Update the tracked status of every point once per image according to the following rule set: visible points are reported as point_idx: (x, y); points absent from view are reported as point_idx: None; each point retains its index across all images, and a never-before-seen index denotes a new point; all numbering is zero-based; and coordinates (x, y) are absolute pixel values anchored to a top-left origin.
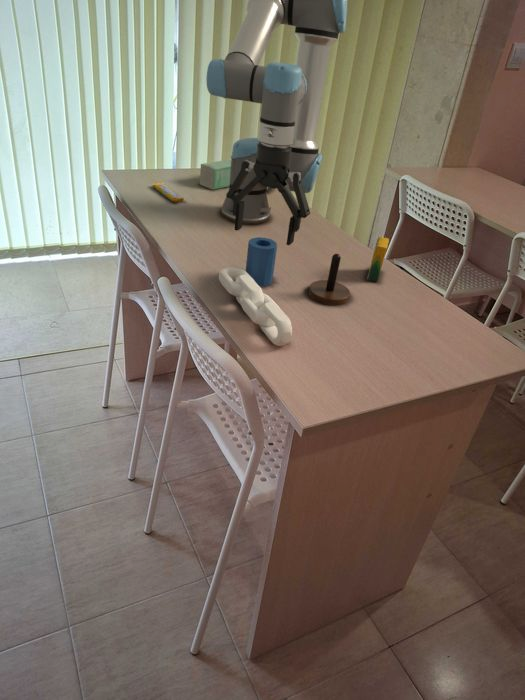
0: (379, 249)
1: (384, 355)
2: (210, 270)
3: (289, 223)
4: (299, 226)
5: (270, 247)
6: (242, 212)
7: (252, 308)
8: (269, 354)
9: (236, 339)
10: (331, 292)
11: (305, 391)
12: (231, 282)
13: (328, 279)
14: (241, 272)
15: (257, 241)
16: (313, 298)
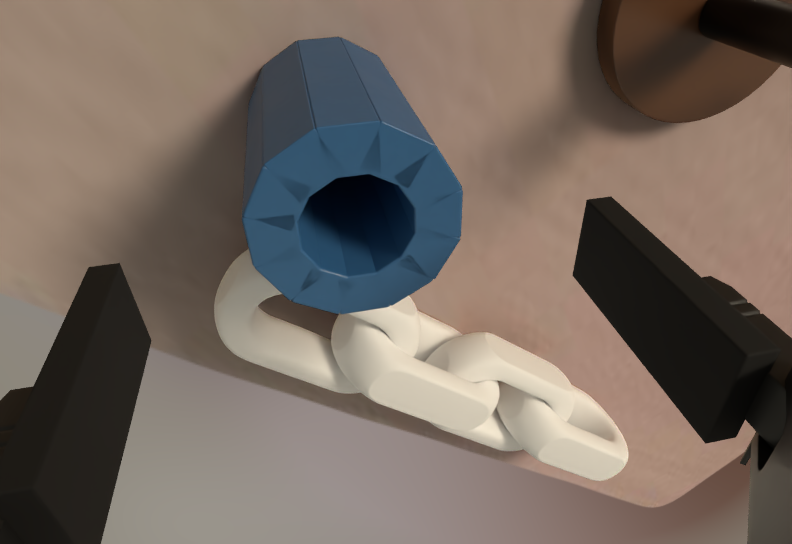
0: None
1: None
2: (64, 200)
3: (670, 398)
4: (743, 305)
5: (437, 251)
6: (89, 397)
7: (488, 445)
8: None
9: (461, 448)
10: None
11: (653, 466)
12: (338, 390)
13: (745, 48)
14: None
15: (298, 212)
16: (629, 105)
